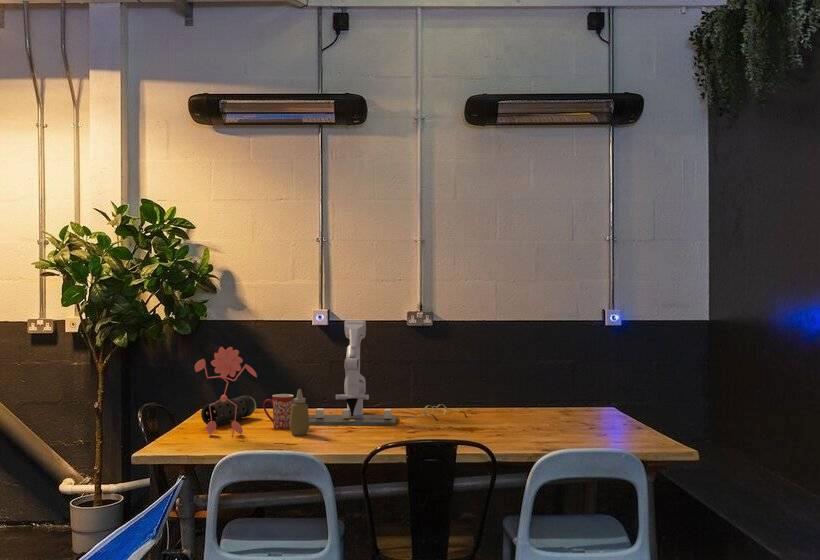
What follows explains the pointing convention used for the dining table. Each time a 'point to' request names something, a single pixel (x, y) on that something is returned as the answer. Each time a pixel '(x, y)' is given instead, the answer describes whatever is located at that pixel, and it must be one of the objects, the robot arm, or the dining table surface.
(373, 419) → the breaker panel
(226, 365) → the figurine
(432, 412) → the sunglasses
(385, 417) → the block
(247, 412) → the muzzle brake
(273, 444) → the dining table surface
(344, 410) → the block
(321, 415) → the beige block
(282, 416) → the mug
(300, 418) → the squeeze bottle
